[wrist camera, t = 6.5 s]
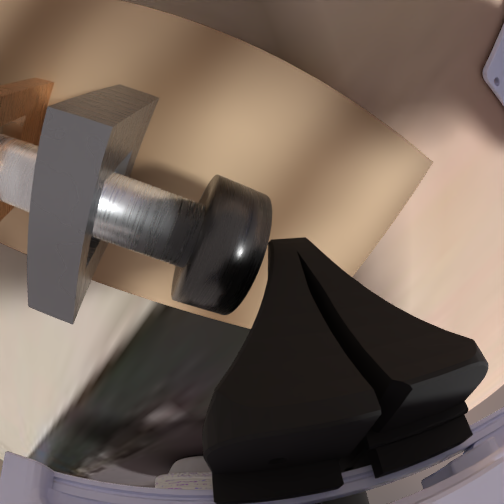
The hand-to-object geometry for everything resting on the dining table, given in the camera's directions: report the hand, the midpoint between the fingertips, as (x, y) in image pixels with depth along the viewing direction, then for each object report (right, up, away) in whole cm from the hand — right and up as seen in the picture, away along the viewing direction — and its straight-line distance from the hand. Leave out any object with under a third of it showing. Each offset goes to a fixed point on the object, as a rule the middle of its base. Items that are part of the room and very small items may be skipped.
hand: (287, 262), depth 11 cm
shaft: (-9, +4, -2) cm, 10 cm away
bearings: (-10, +5, -2) cm, 11 cm away
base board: (-6, +4, +1) cm, 7 cm away
